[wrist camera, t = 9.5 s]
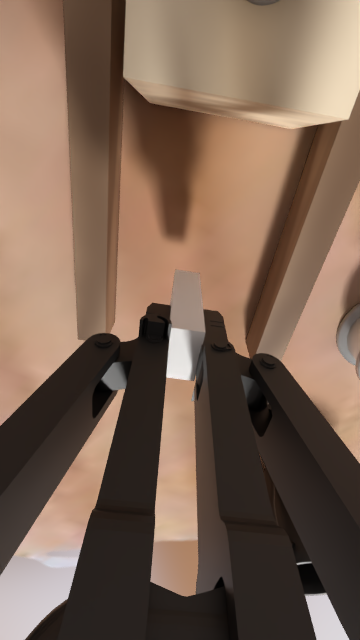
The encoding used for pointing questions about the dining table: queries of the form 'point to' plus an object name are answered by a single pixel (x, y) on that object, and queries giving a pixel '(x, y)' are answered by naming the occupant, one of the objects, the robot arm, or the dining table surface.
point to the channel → (104, 186)
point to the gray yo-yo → (350, 337)
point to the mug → (294, 542)
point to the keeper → (247, 58)
